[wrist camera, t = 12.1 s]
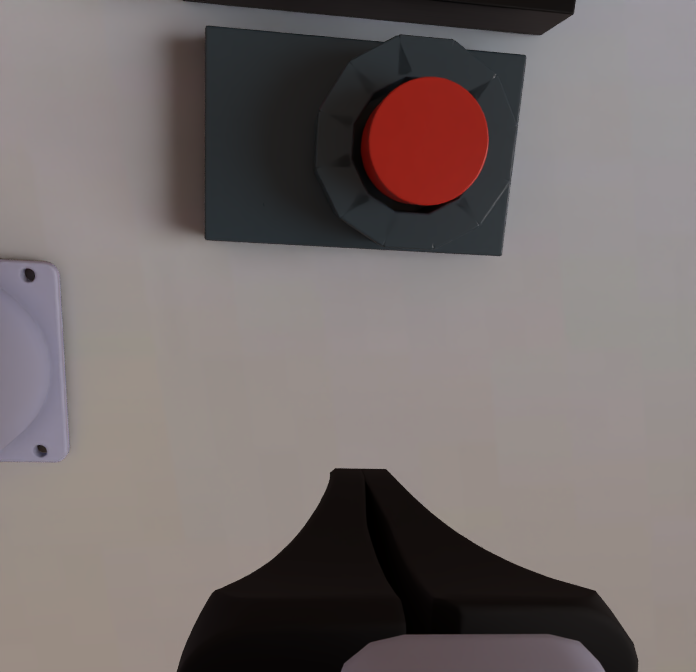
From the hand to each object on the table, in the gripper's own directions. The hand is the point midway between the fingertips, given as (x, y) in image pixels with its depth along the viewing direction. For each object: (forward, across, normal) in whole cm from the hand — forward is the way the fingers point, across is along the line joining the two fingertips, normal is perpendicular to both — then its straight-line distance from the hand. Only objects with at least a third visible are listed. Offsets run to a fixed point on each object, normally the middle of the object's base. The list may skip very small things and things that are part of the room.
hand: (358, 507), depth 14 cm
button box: (+10, 0, -9) cm, 14 cm away
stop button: (+7, -2, -9) cm, 12 cm away
